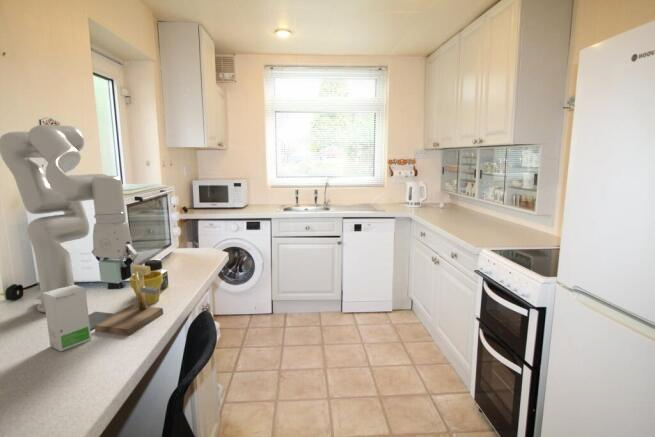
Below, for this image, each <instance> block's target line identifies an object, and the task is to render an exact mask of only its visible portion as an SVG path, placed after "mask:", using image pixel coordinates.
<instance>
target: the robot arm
mask: <svg viewBox="0 0 655 437" xmlns="http://www.w3.org/2000/svg"><path fill="white" fill-rule="evenodd" d="M84 146H85V139H84V135H83V133H81V131H80V130H79V129H78V128H77V127H74V126H71V125H57V124H56V125H53V124H39V125H35V126H33V127H32V128H31V129H29V131H11V132H6V133H4V134H2V135H1V136H0V156H1V159H2V161H3V162H4V164H5V165H6V167H7V168H8V170H9V171H10V173H11V174H12V176H13V179H14V180H15V183H16V186H17V189H18V192H19V194H20V195H19V196H20V197H21V200H22V203H23V206H24V208H25V209H26V211H27V212H28V213H30V214H31V215H43V214H44V215H45V214H51V213H59V212H63V213H64V214H55V215H48V216H47V215H46V216H41V217H37V218H35V219H33V220H32V221H30V222H29V223H28V225H27V228H26V230H27V235H28V238H29V240H30V244H31V246H32V249H33V252H34V257H35V263H36V270H37V276H38V282H39V288H40V292H39V295H36V296H35V299H36V300H40V303H39V304H38V305H37V311H38V312H40V313H44V314H46V310H45V302H44V296H43V293H44V292H48V291H52V290H56V289H59V288H64V287H69V286H73V285H75V280H74V272H73V267H72V259H71V255H70V252H69V251H68V250H67V249H66V248H65V247H63V246H62V244H63V243H66V242H70V241H71V242H72V241H75V240H81V239H84V238H86V237H87V236H88V235H89V233H90V223H89V220H88V216H87V214H86V210H85V208H84V205H83V202H84V201H93V208H94V216H93V218H94V219H95V223H93V224H94V225H93V231H92V245H93V248H92V250H91V254H92V255H93V256H94V257H95V258H96V260H97V261H98V263H99V262H100V261H103V260H106V259H108V258H113V259H119V260H120V262H121V265H122V267H121V277H122V280H124V281H126V279H127V280H129V279H130V277H131V268H130V265H131V264H133V263H134V261H135V259H136V258H137V257H138V256H139V253H138V252H137V251H136V249H134V247H133V240H132V234H131V230H130V228H129V224H128V222H127V218H126V210H125V209H126V208H125V198H124V191H123V190H124V189H123V180H122V178H121V177H120V176H117V175H107V174H104V173H92V174H91V173H90V174H88V173H87V174H72V175H68V174H66V173H69V172H70V171H72V170H74V169H75V168H76V167H77V166H78V165H79V164H80V162H81V158H82V157H81V156H82V155H81V153H80V152H81V151H82V150H83V148H84ZM36 158H37V159H38V158H39V159H44V160H45V161H46V162H47V165H46V168H45V170H44V169H43V168H42V166H40V165H38V164H37V163H36V162H34V161H33V160H32V159H36ZM124 258H125V259H126V261H125V260H124ZM128 278H129V279H128Z"/></svg>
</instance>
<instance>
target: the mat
mask: <svg viewBox="0 0 655 437" xmlns="http://www.w3.org/2000/svg"><path fill="white" fill-rule="evenodd" d="M114 314H115V313H113V312H102V311H94V312H92V313H88V315H89V323H90V332H92V331H93V330H95V326H94V325H95V324H97V323H99V322H101V321H103V320H105V319H107V318H108V317H110V316H112V315H114Z"/></svg>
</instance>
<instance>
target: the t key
mask: <svg viewBox="0 0 655 437" xmlns="http://www.w3.org/2000/svg"><path fill="white" fill-rule="evenodd" d="M132 270H133V275H134V274H135V281H136V290H137V297H136V299H138V300H137V306H138V309H139V310H143V309H146V308H147V307H148V306H147V305H146V296H145V293H149V294H158V293H159V288H154V287H148V286H144V277H143V275H145V276H146V275H148V274H151V271H150V266H145V265H143V264H134V263H132Z"/></svg>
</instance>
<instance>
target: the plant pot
mask: <svg viewBox="0 0 655 437" xmlns="http://www.w3.org/2000/svg"><path fill="white" fill-rule="evenodd" d="M143 277H144V286H148V287H154V288H159V293H158V294H149V293H145V296H146V306H147V305H152V304H155V303H157V302H159V299H160V295H161V293H160V288H161V284H162V283H163V276H162V273H161V272H159V271H151V274H148V275H146V276H145V275H143ZM129 283H130V287H131V289H133V291H134V294H135V297H136V299H137V290H136V281H135V274H133V277H131V278H129ZM137 301H138V299H137Z"/></svg>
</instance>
